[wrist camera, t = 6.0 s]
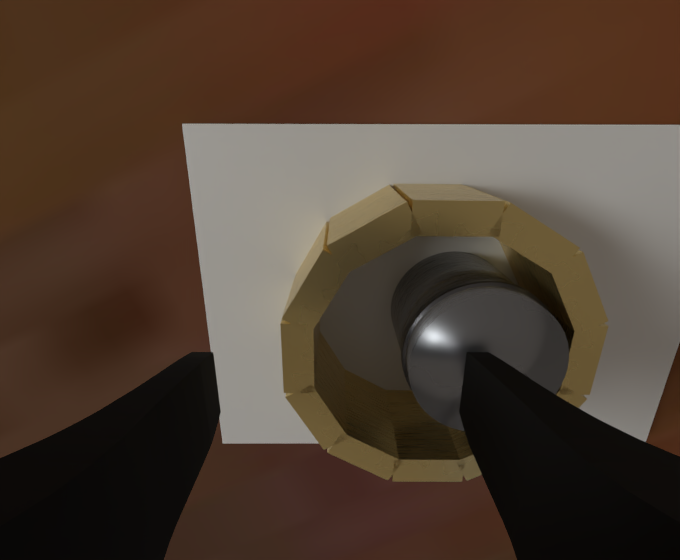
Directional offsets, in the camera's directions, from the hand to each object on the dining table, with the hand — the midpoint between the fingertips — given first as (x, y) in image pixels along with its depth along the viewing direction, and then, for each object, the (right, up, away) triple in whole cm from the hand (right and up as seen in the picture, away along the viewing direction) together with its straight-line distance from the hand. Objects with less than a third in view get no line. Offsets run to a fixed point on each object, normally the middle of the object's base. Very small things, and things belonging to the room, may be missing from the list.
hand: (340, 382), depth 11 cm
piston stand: (+5, +2, +6) cm, 8 cm away
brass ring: (+3, +2, +5) cm, 6 cm away
